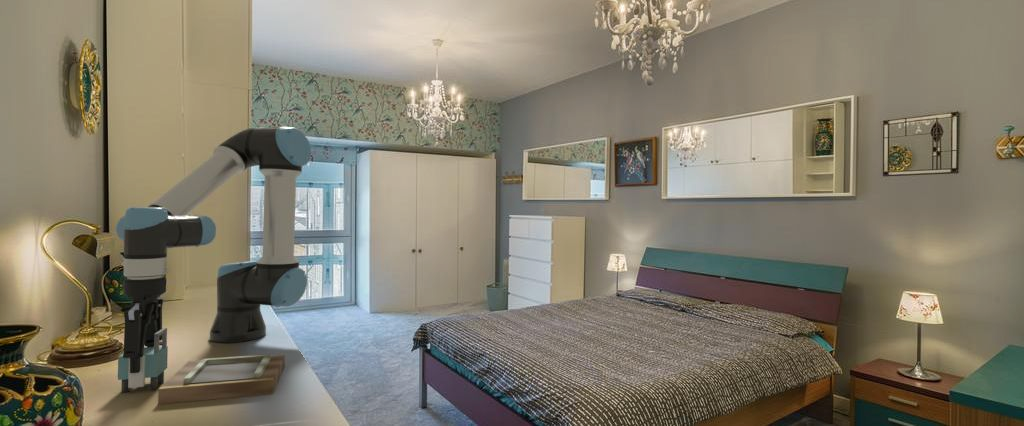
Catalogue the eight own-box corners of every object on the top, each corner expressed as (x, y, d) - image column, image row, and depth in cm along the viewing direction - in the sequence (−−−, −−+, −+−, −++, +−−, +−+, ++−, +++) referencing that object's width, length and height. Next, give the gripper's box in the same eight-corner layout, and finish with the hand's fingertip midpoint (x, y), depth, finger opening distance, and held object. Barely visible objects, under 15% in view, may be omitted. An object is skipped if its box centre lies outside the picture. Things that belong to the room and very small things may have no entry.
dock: (188, 373, 113) (188, 356, 113) (284, 366, 119) (284, 350, 119) (158, 404, 96) (158, 383, 96) (272, 393, 102) (272, 374, 102)
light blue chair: (130, 383, 106) (131, 329, 106) (167, 380, 108) (168, 327, 108) (117, 393, 100) (118, 336, 100) (156, 390, 102) (157, 334, 102)
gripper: (143, 271, 112) (141, 368, 112) (102, 284, 94) (100, 399, 94) (180, 270, 114) (178, 365, 114) (147, 283, 96) (145, 396, 96)
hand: (143, 380), depth 104 cm, fingers closed on light blue chair, 6 cm apart
